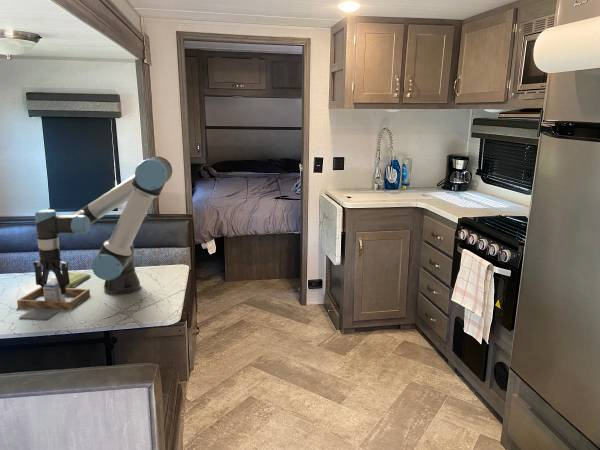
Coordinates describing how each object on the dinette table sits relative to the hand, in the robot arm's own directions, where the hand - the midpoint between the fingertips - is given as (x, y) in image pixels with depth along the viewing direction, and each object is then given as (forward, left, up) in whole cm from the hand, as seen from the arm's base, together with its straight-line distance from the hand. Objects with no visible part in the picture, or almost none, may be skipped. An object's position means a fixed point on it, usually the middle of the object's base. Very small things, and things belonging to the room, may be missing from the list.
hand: (54, 300), depth 186 cm
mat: (-2, +13, 0) cm, 13 cm away
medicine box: (0, 0, -1) cm, 1 cm away
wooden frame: (0, 0, 0) cm, 0 cm away
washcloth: (+7, -22, -1) cm, 23 cm away
